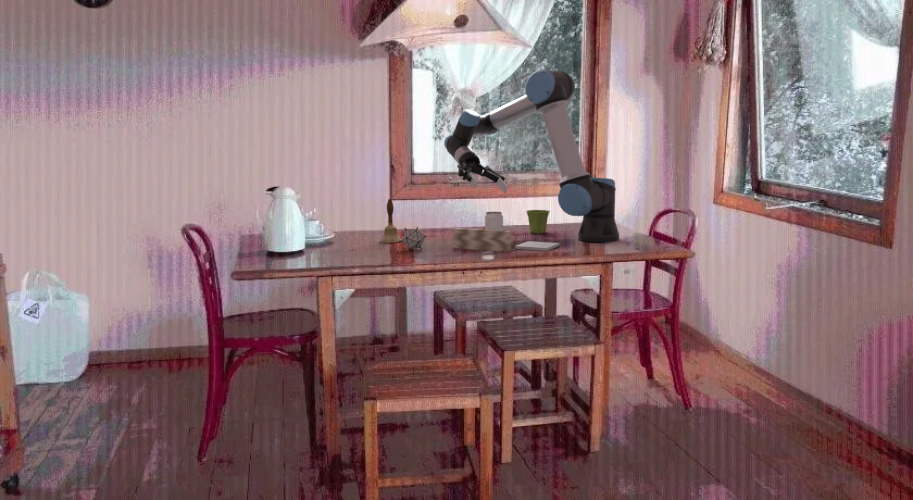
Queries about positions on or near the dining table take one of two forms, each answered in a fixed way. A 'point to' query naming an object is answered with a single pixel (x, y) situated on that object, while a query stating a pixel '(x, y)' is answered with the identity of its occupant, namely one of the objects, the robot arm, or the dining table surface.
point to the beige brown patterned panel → (482, 239)
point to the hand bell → (390, 227)
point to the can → (494, 221)
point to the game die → (413, 238)
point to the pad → (537, 246)
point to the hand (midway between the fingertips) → (491, 187)
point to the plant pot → (537, 220)
